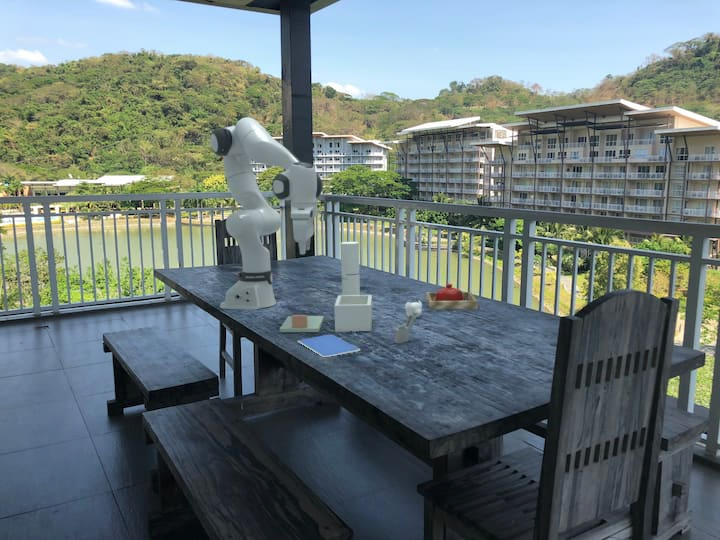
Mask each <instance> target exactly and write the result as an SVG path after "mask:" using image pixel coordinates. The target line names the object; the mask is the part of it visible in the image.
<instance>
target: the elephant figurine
mask: <svg viewBox="0 0 720 540" xmlns="http://www.w3.org/2000/svg"><path fill="white" fill-rule="evenodd" d="M404 308H405V313H406V316H407V317H408V318H409V315H413V316H415V317H416V318H417V317H419V316H421V314H423V312H422V309H423V303H422V302H421V301H420V300H418V301H415V302H410V301H409V302H408V301H407V302H406V303H405V305H404Z"/></svg>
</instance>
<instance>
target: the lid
mask: <svg viewBox="0 0 720 540" xmlns="http://www.w3.org/2000/svg"><path fill="white" fill-rule="evenodd" d="M324 320H325V315H308V314H292V315H288V316H287V317H286V319H285V320H284V322H283V323H282V325H281V326H280V328H279V333H319V332H320V330H321V327H322V325H323V323H324Z"/></svg>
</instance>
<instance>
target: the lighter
mask: <svg viewBox="0 0 720 540" xmlns="http://www.w3.org/2000/svg"><path fill="white" fill-rule="evenodd" d="M416 319H417V317H415V316H413V315H409V317H408V318H407V321H406V324H405V325H404V324H401V325H398V327H397V328H395V329H394V341H395V342H394V343H395V344H397V343H398V345H399V344H404V343H408V342H409V329H411V330H412V329H413V327H414V325H415V321H416Z"/></svg>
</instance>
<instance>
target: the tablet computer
mask: <svg viewBox="0 0 720 540" xmlns="http://www.w3.org/2000/svg"><path fill="white" fill-rule="evenodd" d="M297 343H298V344H299V343H300V345H301V344H302V346H303V345H304V346H305V348H306V347H307V348H306V349H308V348H309V349H310V350H309V349H308V350H309V351H311V350H312V351H313V352H312V351H311V352H312V353H314V352H315V353H314V354H316V353H317V354H319V355H320V356H322V357H330V358H332V357H331V356H336V357H338V356H337V355H341V356H343V355H342V354H346V355H348V354H347V353H351V354H354V353H353V352H356V353H359V352H358V351H360V352H361V348H359V347H357V346H355V345H353V344H352V343H349V342H348V341H346V340H343V339H341V338H339V337H338V336H336V335H334V334H332V333H331V334H325V335H324V334H323V335H319V336H315V337H314V336H313V337H308V338H303V339H302V338H301V339H299V340H297ZM304 346H303V347H304ZM317 354H316V355H317ZM319 355H318V356H319ZM320 356H319V357H320ZM322 357H321V358H322Z"/></svg>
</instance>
